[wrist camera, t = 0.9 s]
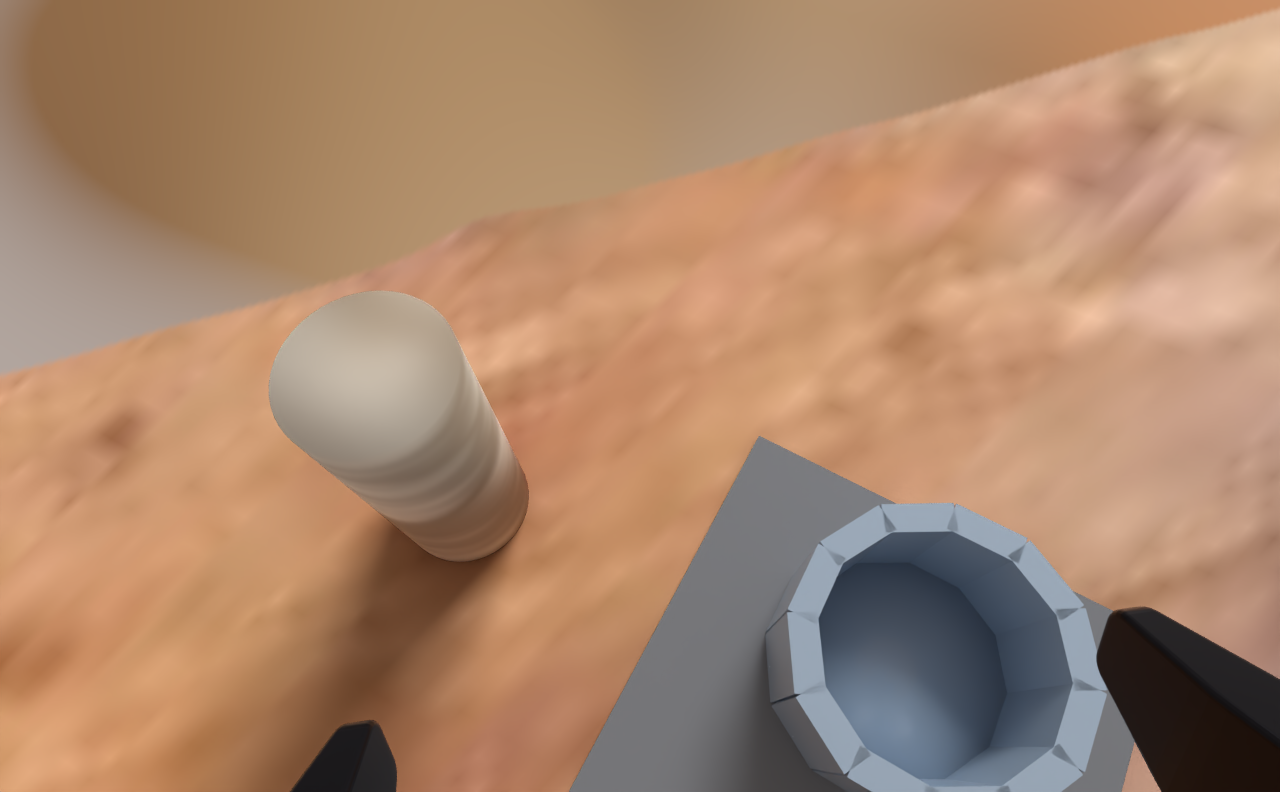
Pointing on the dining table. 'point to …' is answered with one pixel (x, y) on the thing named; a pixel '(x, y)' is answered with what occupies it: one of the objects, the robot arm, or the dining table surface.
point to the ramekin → (934, 658)
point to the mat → (755, 651)
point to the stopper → (401, 422)
